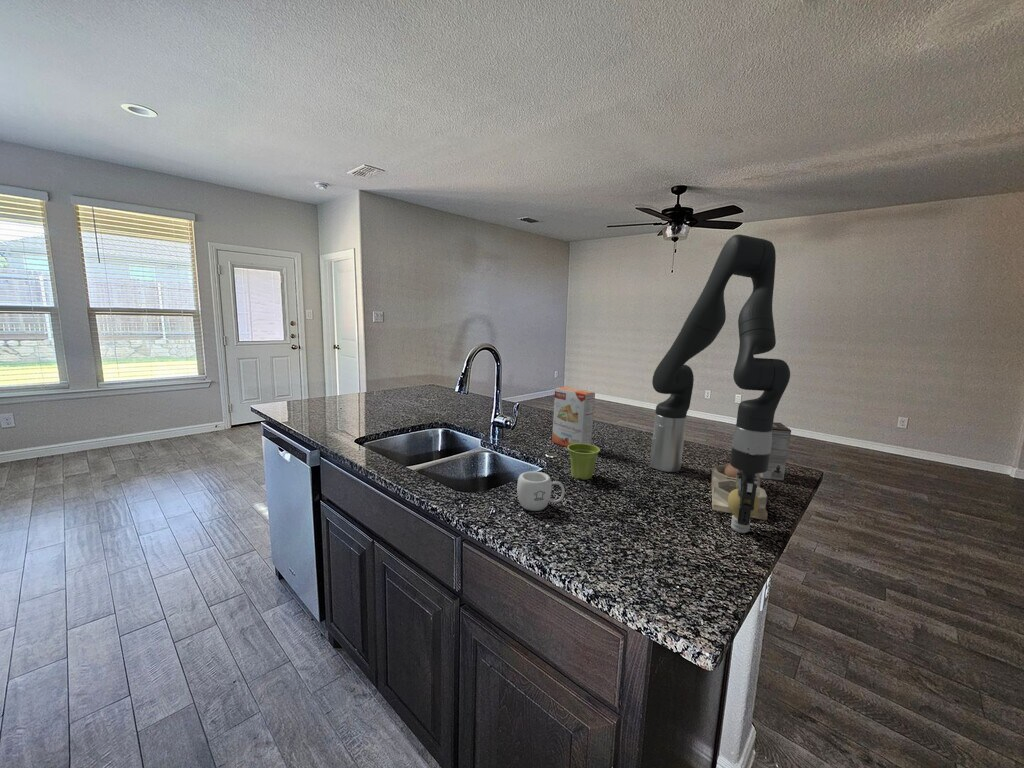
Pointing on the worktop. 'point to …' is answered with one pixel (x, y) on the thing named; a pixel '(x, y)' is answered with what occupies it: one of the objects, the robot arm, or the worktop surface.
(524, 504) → the mug
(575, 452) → the plant pot
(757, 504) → the light bulb
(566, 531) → the worktop surface
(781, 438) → the coffee box
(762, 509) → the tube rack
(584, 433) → the cracker box
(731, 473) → the terracotta ball
